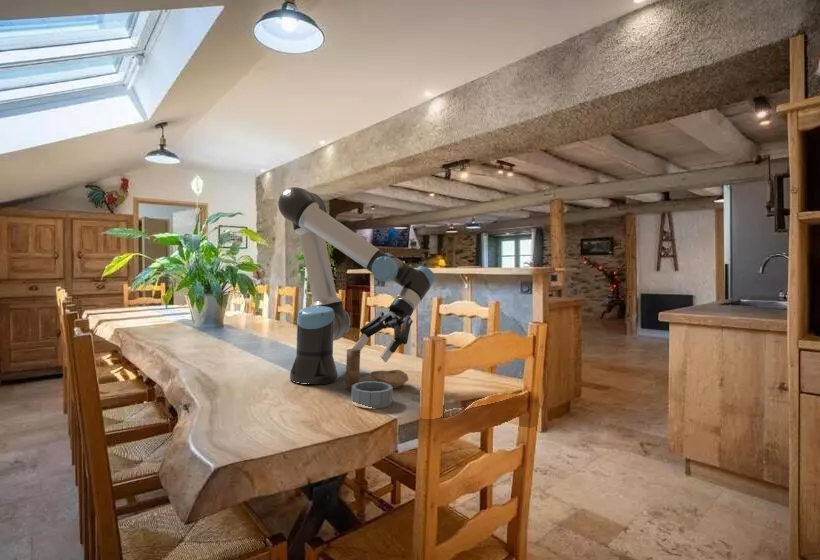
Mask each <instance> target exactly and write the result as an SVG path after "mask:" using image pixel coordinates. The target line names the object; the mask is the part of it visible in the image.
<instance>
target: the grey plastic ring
mask: <svg viewBox="0 0 820 560" xmlns="http://www.w3.org/2000/svg"><path fill="white" fill-rule="evenodd" d="M350 392H351V397H350V399H351V402H352V401H353V402H356V403H358V404H362V405H365V406H368V407H372V408H376V409H375V410H381V409H385V408H386V409H387V408H388V407H390V406H392V403H393V395H394V393H393V392H394V388H393V387H392V386H391V385H390V384H387V383H384V382H377V381H375V380H373V381H370V380H369V381H359V383H355V384H354V385H352V391H350Z"/></svg>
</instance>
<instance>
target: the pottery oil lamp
mask: <svg viewBox="0 0 820 560" xmlns="http://www.w3.org/2000/svg"><path fill="white" fill-rule="evenodd" d="M370 377H371V379H372V380H373V381H376V382H384V383H387V384H390V385H391V386H392V387H393V389H397V388H399V387H401V386H402V385H404V384H405V383H406V382H408V381H409V376H408V374H407V373H405V372H404V371H402V370H401V369H392V370H373V371H371V372H370Z"/></svg>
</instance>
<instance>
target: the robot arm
mask: <svg viewBox="0 0 820 560" xmlns="http://www.w3.org/2000/svg"><path fill="white" fill-rule="evenodd" d="M277 202H278V203H277V206H278V210H279V212H280V214H281V216H283V217H284V219H286V220H288V221H290V222H292V226H293V227H292V229H293V232H294V233H295V234H296V235H298V236H299V238H300V239H299V240H300V245H301V250H302V253H303V254H302V255H303V259H304V264H305V268H306V273H307V279H308V283H309V289H310V292H311V297H312V303H311V304H310V306H307V307H304V308H302V309H300V310H299V311H298V313H297V318H296V352H295V353H296V355H295V359H294V361H293V363H292V367H291V370H290V373H289V380H290V379H291V380H292V381H295V382H299V383H307V384H308V383H309V384H321V385H328V384H331V383H334V382H336V381H337V380H338V369H337V366H336V363H335V360H334V355H333V353H334V341H337V340H340V339H342V337H344V336H345V335H346V334H347V333H348V331H349V330H350V326H351V318H350V315H349V313H348V311H346V310H345V308H344V303H343V299H341V298H339V297H338V294H337V290H336V286H335V281H334V276H333V272H332V271H333V270H332V266H331V261H330V256H329V251H328V246H327V243H328V244H329V245H331V246H333V247H334V248H335V249H337V250H338V251H340V252H341V253H343V254H344V255H345V256H347V257H349V258H350V259H351V260H353V261H355V262H356V263H357V264H359V265H361V266H362V267H363V268H364V269H366V270H367V271H369V272H370V273H371V274H372V275H373V276H374V277H375V278H376V279H377V280H378V281H381V282H389V281H393V282H394V283H396V284H398V285H399V286H401V287H402V289H401V290H400V291H399V293H398V294H397V296H395V299H393V301H392V303H391V304H390V305H389V307H388V308H389V310H388V311H387V312H386V313H384V312H383V311H380V312H379V313H378V314H377V316H375V317H374V318H373V319H371V320H370V321H369V322H367V323H366V324H365V325H364V326H362V328H360V329H359V331H360V333H361V335H360V336H359V338H358V339H357V340H356V343H355V345H354V346H353V347H352V348H351V349H358V350H360V352H362V351H363V349H364V347H365V345H367V343H368V341H369V340H370V338H371V337H372V336H373V335H375V334H377V333H378V332H380V331H382V330H383V329H384V330H385V329H388V328H389V329H393V335H394V337H393V339H391V340H390V342H389V343H388V345H386V348H384V350H383V352H382V353H381V355H380V356H379V357H380V358H381V360H383V362H384V363H387V362H388V361H389V359H390V358H391V357H392V355H393V354H394V353H395V352H396V350H398V348H399V346H401V345H407V344H408V340H409V335H410V330H411V326H412V324H413V322H414V321H413V319H412V317H411V316H412V315H413V313H414V311H416V309H417V307H418V306H419V304H420V303H421V301H422V300H423V299H424V297H425V296H426V295H427V293H428V292H429V290H430V289H431V287H432V285H433V284H434V282H435V280H436V277H435V273H434V272H433V270H432V269H430V268H429V267H427V266H422V265H420V266H418V267H417V268H415V267H413V266H410V265H409V264H408V263H406V262H404V261H403V260H401V259H399V258H398V257H397V256H396V255H393V254H391V253H389V252H386V253H385V252H384V251H382V250H380V249H379V248H378V247H376V246H375V245H373V244H372V243H370V242H369V241H368V240H366V239H364V238H363V237H361V236H360V235H359V234H357V233H356V232H354V231H353V230H352V229H350V228H349V227H347V226H346V225H344V224H343V223H341V222H340V221H338V220H337V219H335V218H334V217H333V216H331V215H330V214H328V206H327V204H326V203H325V201H324V200H323V199H322V198H321V197H320V196H319V195H318V194H316V193H313V192H311V191H308V190H306V189H305V188H301V187H299V186H298V187H295V186H294V187H293V186H292V187H290V188H287V189H285V190H284V191H283V192H282V193H281V194H280V196H279V198H278V201H277Z"/></svg>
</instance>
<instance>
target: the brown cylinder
mask: <svg viewBox="0 0 820 560" xmlns="http://www.w3.org/2000/svg"><path fill="white" fill-rule="evenodd" d="M360 363H361V351H360V350H358V349H352V348H348V349H347V350H346V367H345V368H346V369H345V391H346V390H347V392H352V385H354V384H355V383H359V382H360V370H361V369H360V368H361V365H360Z"/></svg>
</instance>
